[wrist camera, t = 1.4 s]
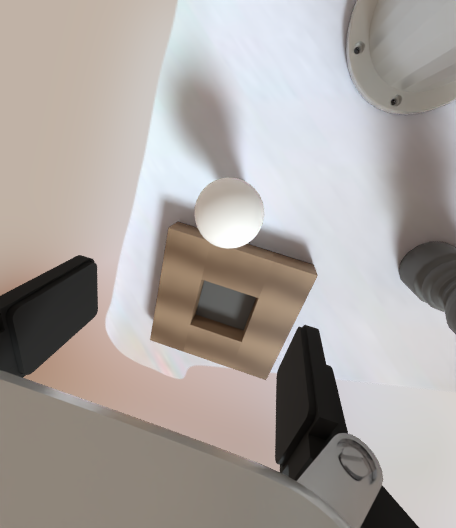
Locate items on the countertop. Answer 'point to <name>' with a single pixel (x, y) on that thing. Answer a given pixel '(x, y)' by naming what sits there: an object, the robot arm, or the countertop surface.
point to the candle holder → (433, 277)
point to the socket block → (228, 300)
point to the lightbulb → (229, 213)
